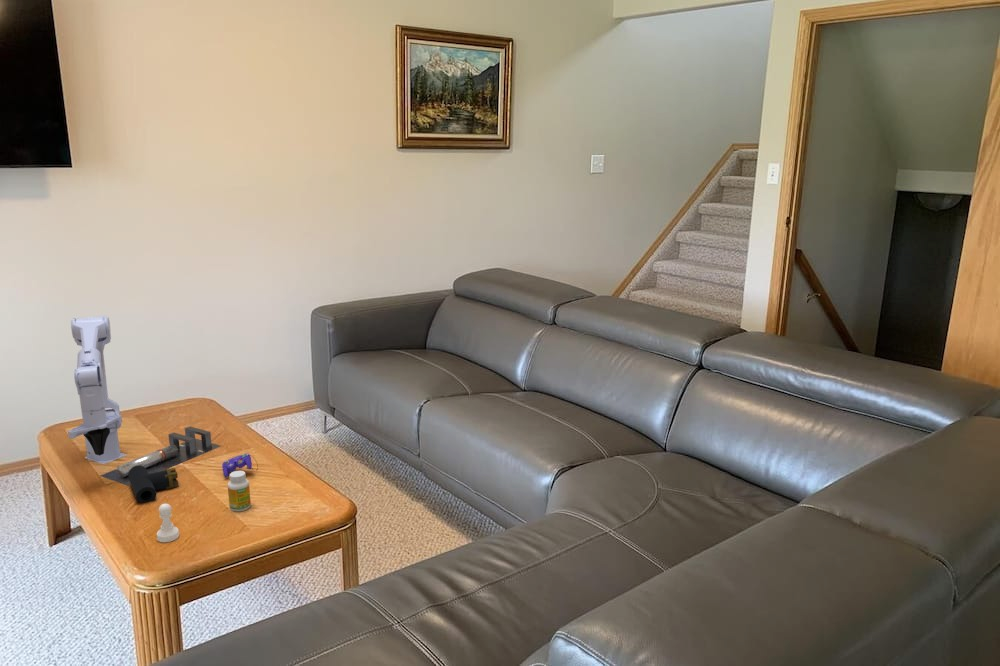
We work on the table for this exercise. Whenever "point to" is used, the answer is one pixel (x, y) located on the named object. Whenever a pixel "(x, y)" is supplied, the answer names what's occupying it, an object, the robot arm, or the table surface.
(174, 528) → the chess pawn
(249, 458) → the game controller
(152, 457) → the grey long cylinder
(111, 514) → the table surface
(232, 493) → the supplement bottle
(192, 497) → the table surface
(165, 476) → the pipe connector
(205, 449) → the grey cradle rack
